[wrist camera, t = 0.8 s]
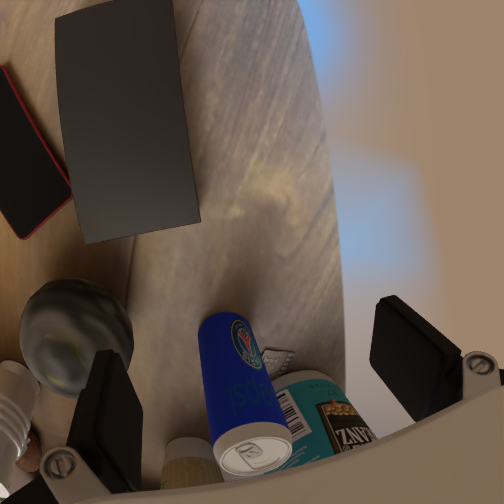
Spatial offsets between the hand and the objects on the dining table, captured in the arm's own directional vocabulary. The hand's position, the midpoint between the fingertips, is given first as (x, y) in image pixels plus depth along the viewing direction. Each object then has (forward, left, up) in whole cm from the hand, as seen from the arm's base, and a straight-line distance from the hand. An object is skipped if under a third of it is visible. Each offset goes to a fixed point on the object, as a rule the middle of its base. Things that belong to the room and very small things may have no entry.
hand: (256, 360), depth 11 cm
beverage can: (+11, -1, -18) cm, 21 cm away
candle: (+13, -26, -18) cm, 34 cm away
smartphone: (-10, -17, -18) cm, 27 cm away
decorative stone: (+6, -13, -18) cm, 23 cm away
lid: (-10, -5, -18) cm, 21 cm away
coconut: (+28, -34, -15) cm, 46 cm away
